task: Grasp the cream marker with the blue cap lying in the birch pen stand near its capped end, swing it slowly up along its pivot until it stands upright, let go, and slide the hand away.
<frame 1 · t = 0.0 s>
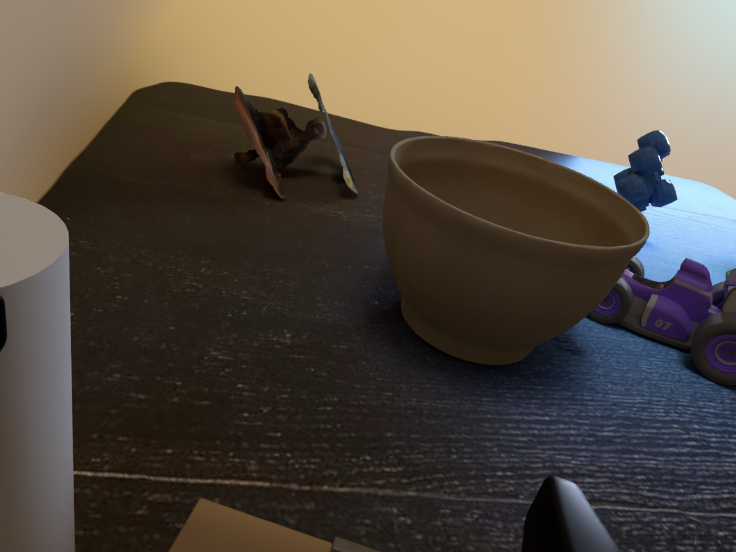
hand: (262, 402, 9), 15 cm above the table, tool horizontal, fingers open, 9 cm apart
planter bowl: (464, 328, 42), on the table
toy race car: (649, 327, 49), on the table
grapes: (620, 238, 66), on the table
figurine: (299, 181, 59), on the table
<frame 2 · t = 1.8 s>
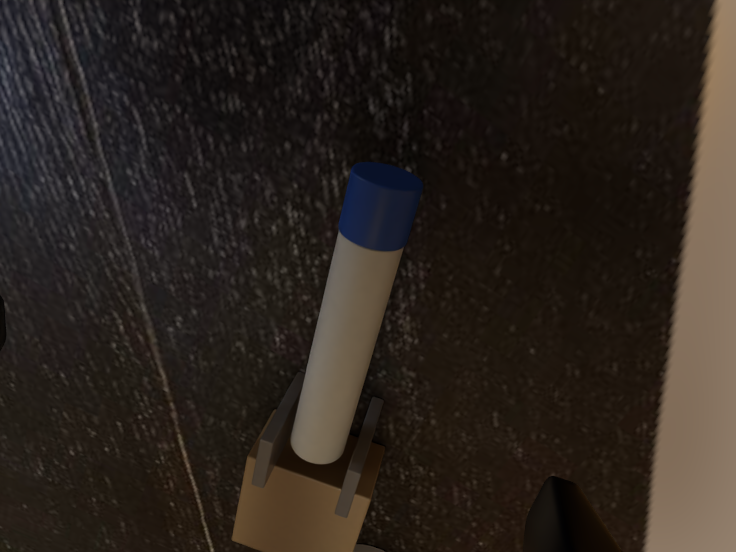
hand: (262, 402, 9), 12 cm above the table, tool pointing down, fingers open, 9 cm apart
pen stand: (336, 403, 25), on the table
marker: (348, 326, 19), point 3 cm above the table, hinge at 0.0°
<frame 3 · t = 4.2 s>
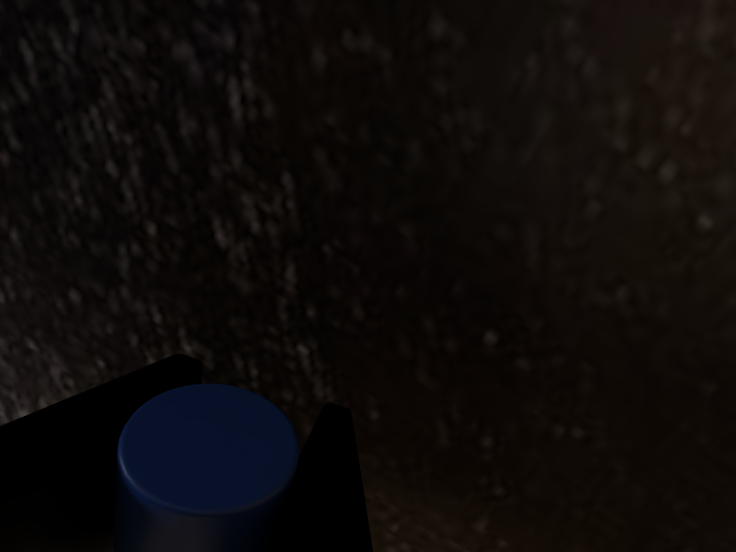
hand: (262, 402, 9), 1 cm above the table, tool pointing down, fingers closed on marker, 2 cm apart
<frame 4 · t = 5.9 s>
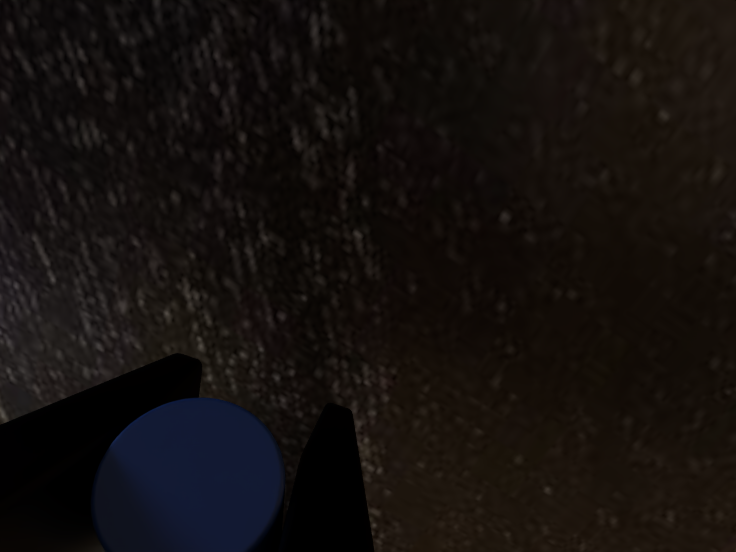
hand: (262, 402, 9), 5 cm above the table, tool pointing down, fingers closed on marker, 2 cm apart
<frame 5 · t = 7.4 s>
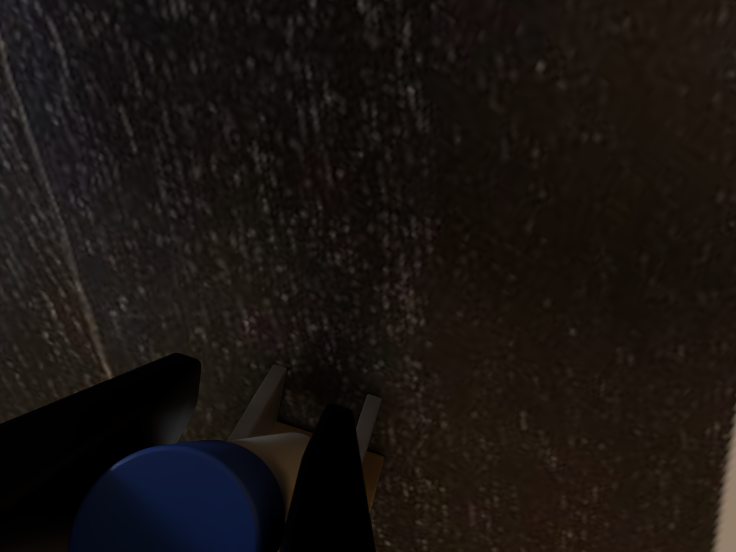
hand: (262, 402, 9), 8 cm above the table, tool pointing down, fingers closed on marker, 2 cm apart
pen stand: (321, 403, 20), on the table
marker: (255, 491, 11), point 7 cm above the table, hinge at 49.2°, touching gripper
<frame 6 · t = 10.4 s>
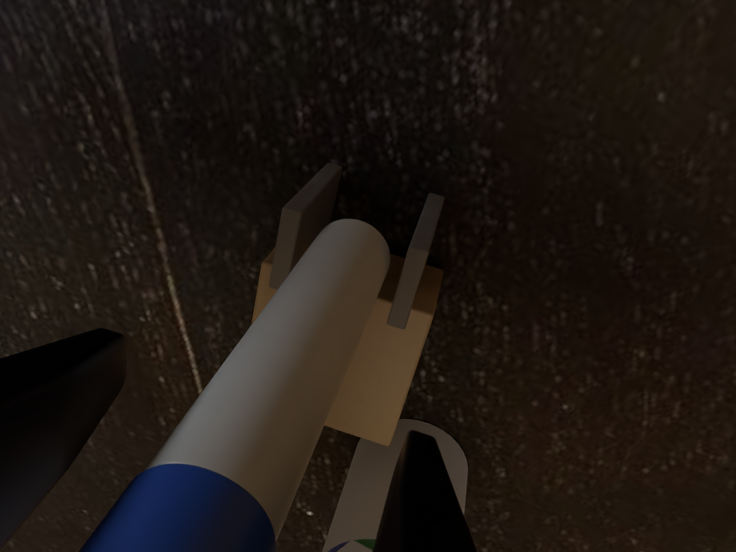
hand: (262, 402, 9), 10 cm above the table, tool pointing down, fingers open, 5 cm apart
pen stand: (378, 209, 18), on the table
marker: (285, 373, 11), point 9 cm above the table, hinge at 90.7°
tube: (411, 460, 23), on the table
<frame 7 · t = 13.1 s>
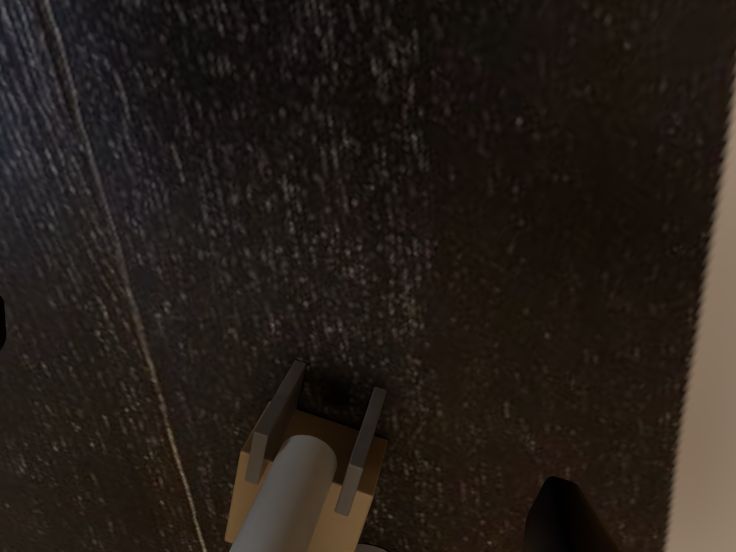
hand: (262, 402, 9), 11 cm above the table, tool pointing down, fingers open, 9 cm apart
pen stand: (335, 394, 23), on the table
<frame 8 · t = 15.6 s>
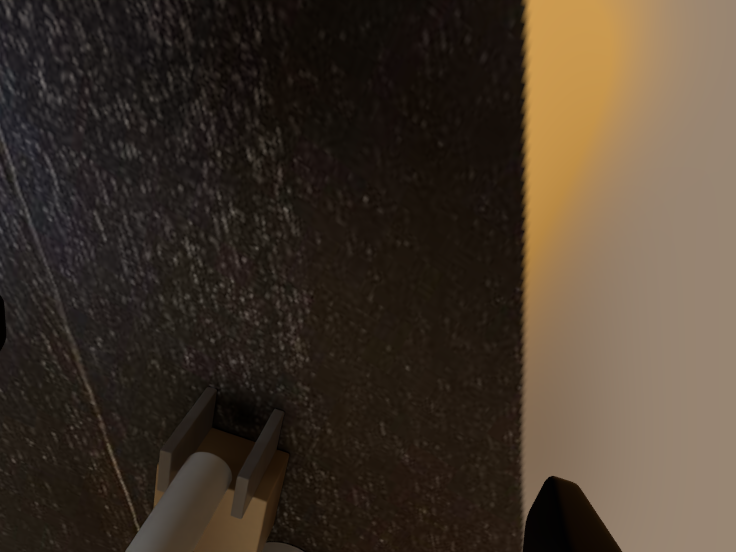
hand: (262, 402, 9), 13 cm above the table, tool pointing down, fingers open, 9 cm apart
pen stand: (243, 415, 27), on the table
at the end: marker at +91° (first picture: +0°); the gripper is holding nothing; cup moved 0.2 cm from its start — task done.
